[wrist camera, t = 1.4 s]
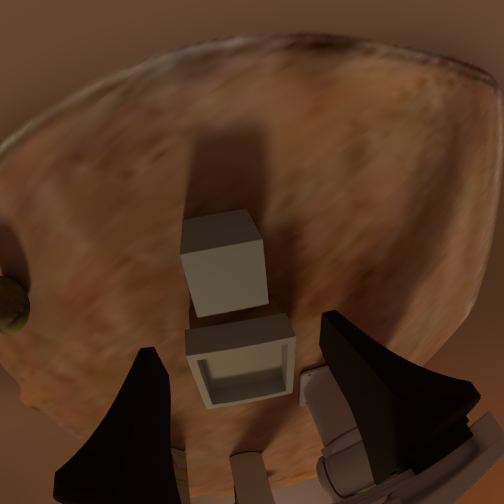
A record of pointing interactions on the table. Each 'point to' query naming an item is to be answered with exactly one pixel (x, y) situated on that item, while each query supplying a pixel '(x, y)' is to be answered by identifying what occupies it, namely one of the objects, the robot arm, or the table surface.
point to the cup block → (242, 360)
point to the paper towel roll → (251, 479)
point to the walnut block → (234, 315)
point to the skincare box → (181, 474)
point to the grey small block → (224, 262)
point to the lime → (12, 306)
